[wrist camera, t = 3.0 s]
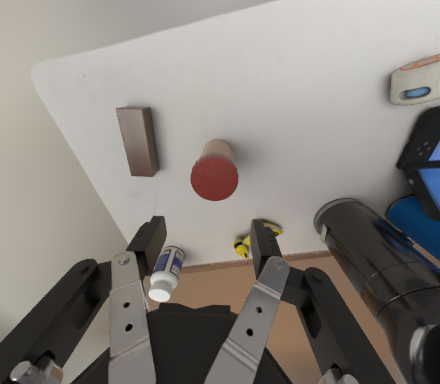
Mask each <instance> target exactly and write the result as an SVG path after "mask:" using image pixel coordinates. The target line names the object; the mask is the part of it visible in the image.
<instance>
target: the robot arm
mask: <svg viewBox="0 0 440 384" xmlns="http://www.w3.org/2000/svg"><path fill="white" fill-rule="evenodd" d="M314 227H315V229H316V231H317V233H318V234H319V235H320V236H321V240H322V242H323V243H324V242H325V244H326V245H327V247H328V248H329V250H330V251H331V253H332V254H333V256H334V258H335V259H336V260H337V262H338V264H339V265H340V267H341V268H342V270H343V271H344V273H345V274H346V276H347V277H348V279H349V280H350V282H351V283H352V285H353V286H354V288H355V289H356V291H357V292H358V294H359V296H360V297H361V299H362V300H363V301H364V303H365V304H366V306H367V307H368V309H369V311H370V312H371V314H372V315H373V317H374V318H375V320H376V321H377V323H378V324H379V326H380V327H381V329H382V330H383V332H384V334H385V335H386V337H387V340H388V344H389V348H390V352H391V354H392V357H393V360H394V362H395V364H396V366H397V368H398V370H399V371H400V373H401V375H402V377H403V378H404V380H405V382H406V383H407V384H440V269H439V268H438V267H436V266H435V265H434V264H433V263H432V262H430V261H429V260H428V259H427V258H425V257H424V256H423V255H422V254H421V253H419V252H418V251H417V250H416V249H415V248H413V243H412V242H411V241H410V240H409V239H408V238H407V237H409V236H407V235H406V234H405V233H400V232H399V231H398V230H397V229H395V228H394V227H393V226H392V225H390V224H389V223H388V222H387V221H385V220H384V219H383V218H382V217H380V216H379V215H378V214H377V213H375V212H374V211H373V210H372V209H370V208H369V207H366V206H364V205H362V204H361V203H360V202H359V201H357V200H354V199H339V200H335V201H332V202H330V203H328V204H327V205H325V206H324V207H323V208H321V209H320V210H319V212H318V213H317V214H316V216H315V219H314ZM166 236H167V231H166V224H165V218H164V216H153V217H152V219H151V221H150V222H146V223H145V224H143V225H142V226H141V227H140V228H139V230H138V232H137V233H136V235H135V237H134V238H133V240H132V241H131V243H130V244H129V246H128V247H127V249H126V251H125V252H122V253H120V254H118V255H116V256H115V257H114V258H113V260H112V261H109V262H104V263H100V264H97V262H96V260H94V259H86V260H82V261H80V262H78V263H77V264H75V265H74V266H73V267H72V268H71V269H70V270H69V271H68V272H67V273H66V274H65V275H64V276H63V277H62V278H61V279H60V281H58V283H57V284H56V285H55V286H54V287H53V288H52V289H51V290H50V291H49V292H48V293H47V294H46V295H45V296H44V297H43V298H42V299H41V300H40V302H39V303H38V304H37V305H36V306H35V307H34V308H33V309H32V310H31V311H30V312H29V313H28V314H27V315H26V316H25V317H24V318H23V319H22V320H21V322H20V323H19V324H18V325H17V326H16V327H15V328H14V329H13V330H12V331H11V332H10V333H9V334H8V335H7V336H6V337H5V338H4V339H3V341H2V342H1V343H0V384H61V381H62V378H63V371H62V368H63V366H64V365H65V363H66V362H67V360H68V359H69V357H70V355H71V354H72V352H73V351H74V349H75V347H76V346H77V344H78V343H79V341H80V340H81V338H82V336H83V335H84V333H85V332H86V330H87V329H88V327H89V325H90V324H91V322H92V321H93V319H94V317H95V316H96V314H97V313H98V311H99V310H100V308H101V307H102V305H103V303H104V302H105V300H106V299H107V297H109V311H110V347H109V348H107V349H106V350H105V351H104V352H103V353H102V354H101V355H100V356H99V357H98V358H97V359H96V360H95V361H94V362H93V363H92V364H91V365H89V366H88V367H87V368H86V369H85V370H84V371H83V372H82V373H81V374H80V375H79V376H78V377H77V378H76V379H75V380H74V381H72V382H71V383H70V384H293V383H292V382H291V381H290V379H289V378H288V376H287V375H286V374H285V372H284V371H283V370H282V368H281V367H280V366H279V364H278V363H277V361H276V360H275V359H274V357H273V356H272V355H271V353H270V352H269V350H268V349H267V348H266V343H267V340H268V337H269V334H270V331H271V327H272V324H273V321H274V318H275V315H276V312H277V309H278V306H279V302H280V300H282V301H285V302H287V303H290V304H293V305H295V306H296V309H297V311H298V314H299V317H300V319H301V322H302V324H303V327H304V330H305V332H306V335H307V337H308V340H309V343H310V345H311V348H312V350H313V353H314V355H315V358H316V360H317V363H318V366H319V368H320V371H321V374H322V376H323V377H322V378H321V379H320V381H319V383H318V384H396V383H395V381H394V380H393V378H392V377H391V375H390V373H389V372H388V370H387V369H386V367H385V365H384V364H383V362H382V361H381V359H380V358H379V356H378V354H377V353H376V351H375V349H374V348H373V346H372V345H371V343H370V341H369V340H368V338H367V337H366V335H365V334H364V332H363V330H362V329H361V327H360V326H359V324H358V322H357V321H356V319H355V318H354V316H353V314H352V313H351V311H350V310H349V308H348V307H347V305H346V303H345V302H344V300H343V299H342V297H341V295H340V294H339V292H338V291H337V289H336V287H335V286H334V284H333V283H332V281H331V280H330V278H329V276H328V275H327V274H326V273H325V272H324V271H322V270H320V269H318V268H315V267H309V268H307V269H306V270H305V271H302V270H299V269H296V268H293V267H291V266H290V265H289V264H288V262H287V261H286V260H285V259H283V257H282V254H281V251H280V249H279V246H278V243H277V240H276V237H275V234H274V231H273V230H272V229H271V228H270V227H269V226H264V224H263V220H258V219H252V224H251V231H250V244H251V250H252V256H253V262H254V268H255V274H256V280H258V281H257V283H254V285H253V287H252V289H251V291H250V293H249V295H248V297H247V299H246V301H245V303H244V305H243V307H242V309H241V311H240V313H239V315H238V314H236V313H234V312H231V311H230V305H211V306H206V307H202V308H197V309H192V308H189V307H187V306H184V305H181V304H178V303H160V305H159V309H156V310H153V311H151V312H149V308H148V302H147V298H146V293H145V287H144V282H143V279H144V277H145V276H151V275H152V272H153V270H154V267H155V265H156V262H157V260H158V257H159V255H160V252H161V250H162V247H163V245H164V242H165V240H166Z"/></svg>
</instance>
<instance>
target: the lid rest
mask: <svg viewBox="0 0 440 384" xmlns="http://www.w3.org/2000/svg"><path fill="white" fill-rule="evenodd" d="M116 112H117V116H118V120H119V124H120V129H121V133H122V137H123V142H124V146H125V150H126V154H127V159H128V163H129V167H130V172H131V176H145V177H154V175H155V174H156V173H157V172H158V171H159V164H158V158H157V151H156V144H155V138H154V131H153V124H152V117H151V111H150V107H121V108H116Z"/></svg>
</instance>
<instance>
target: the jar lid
mask: <svg viewBox="0 0 440 384" xmlns="http://www.w3.org/2000/svg"><path fill="white" fill-rule="evenodd" d="M191 184H192V187H193V189H194V191H195V192H196V193H197V194H198V195H199V196H201V197H202V198H204V199H207V200H211V201H220V200H223V199H226V198H228V197H229V196H230V195H232V194H233V192H234V191H235V190H236V187H237V184H238V173H237V167H236V166H235V164H234V162H232V160H231V159H230V158H228V157H226V156H225V155H222V154H219V153H218V154H217V153H212V154H206V155H205V156H203V157H200V159H199V160H198V161H196V163H195V166H193V169H192V173H191Z"/></svg>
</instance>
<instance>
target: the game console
mask: <svg viewBox="0 0 440 384" xmlns="http://www.w3.org/2000/svg"><path fill="white" fill-rule="evenodd" d="M410 140H411V143H409V144H408V145H407V147H406V149H405V151H404V153H403V155H402V157H401V159H400V161H399V163H397V168H398V169H401V170H403V171H405V175H406V177H407V179H408V181H409V183H410V185H411V187H412V189H413V191H414V193H415V195H416V197H417V198H418V201H419V203H420V205H421V206H422V208H423V210H424V212H425V214H426V215H427V216H428V217H429V218H431V219H432V220H435V221H440V107H434V108H431V109H429V110H427V111H426V112H425V113H424V114H423V115H422V116H421V118H420V120H419V122H418V124H417V126H416V128H415V130H414V132H413V134H412V137H411V138H410Z"/></svg>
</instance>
